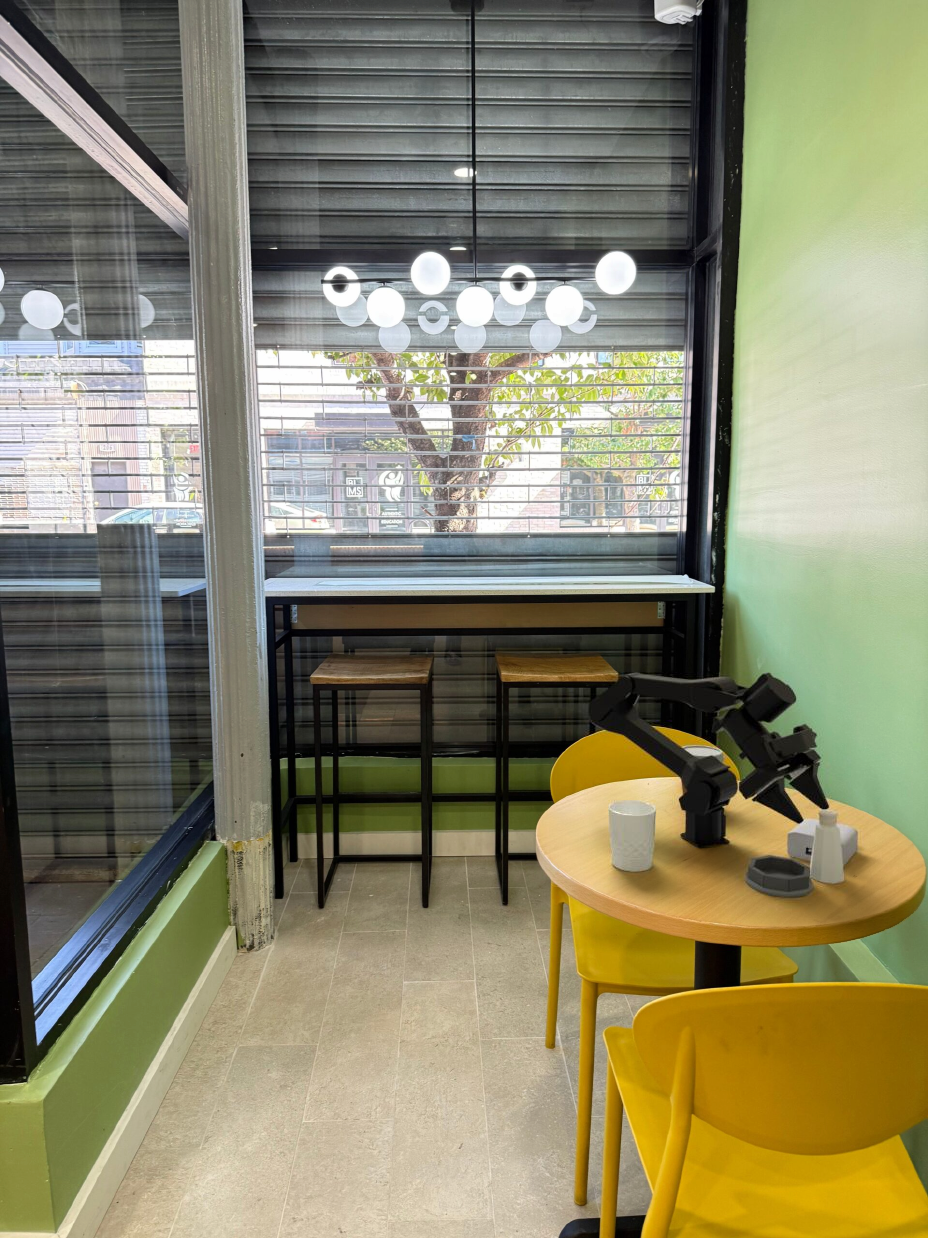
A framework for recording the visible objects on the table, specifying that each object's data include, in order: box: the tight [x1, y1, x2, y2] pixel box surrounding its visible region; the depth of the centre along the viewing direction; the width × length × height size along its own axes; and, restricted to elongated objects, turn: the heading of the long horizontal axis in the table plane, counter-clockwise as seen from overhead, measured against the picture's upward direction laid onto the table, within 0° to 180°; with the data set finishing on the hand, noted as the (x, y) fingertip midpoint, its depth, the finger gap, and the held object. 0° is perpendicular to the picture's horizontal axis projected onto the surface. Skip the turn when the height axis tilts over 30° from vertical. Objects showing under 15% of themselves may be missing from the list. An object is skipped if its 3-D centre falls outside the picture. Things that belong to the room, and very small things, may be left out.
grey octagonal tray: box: [745, 854, 814, 899], centre depth 128 cm, size 10×10×3 cm
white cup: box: [608, 799, 657, 873], centre depth 136 cm, size 8×8×10 cm
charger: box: [786, 818, 859, 867], centre depth 142 cm, size 5×9×15 cm
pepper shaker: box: [809, 809, 845, 885], centre depth 130 cm, size 5×5×11 cm
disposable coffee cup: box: [680, 744, 726, 795], centre depth 165 cm, size 10×10×12 cm
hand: (814, 815), depth 131 cm, fingers open, 9 cm apart
